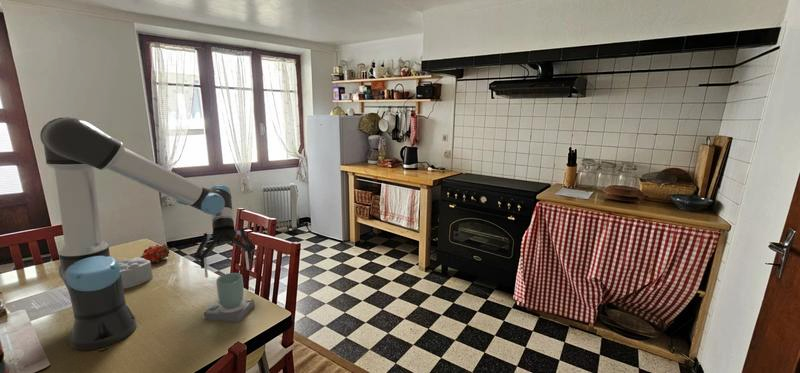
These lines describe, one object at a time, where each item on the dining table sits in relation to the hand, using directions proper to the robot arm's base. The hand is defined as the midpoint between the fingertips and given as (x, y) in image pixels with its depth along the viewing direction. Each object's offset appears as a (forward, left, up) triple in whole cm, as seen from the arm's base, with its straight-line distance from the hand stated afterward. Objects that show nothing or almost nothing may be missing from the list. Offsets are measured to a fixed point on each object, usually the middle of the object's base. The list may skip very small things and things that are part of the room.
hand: (227, 272), depth 123 cm
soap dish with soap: (-9, -6, -10) cm, 14 cm away
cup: (-9, -6, -7) cm, 13 cm away
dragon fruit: (+23, +50, -10) cm, 56 cm away
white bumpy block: (+6, +46, -10) cm, 47 cm away
